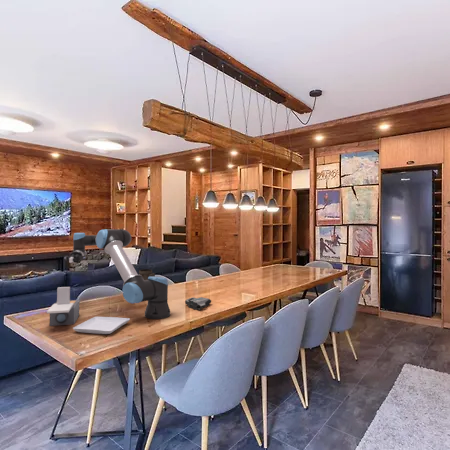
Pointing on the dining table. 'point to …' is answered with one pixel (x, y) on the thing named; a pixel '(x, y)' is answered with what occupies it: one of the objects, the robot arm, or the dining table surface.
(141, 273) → the beer stein
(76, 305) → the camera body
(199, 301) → the dark grey flat lump
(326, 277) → the dining table surface
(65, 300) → the side cover
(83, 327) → the salad plate
